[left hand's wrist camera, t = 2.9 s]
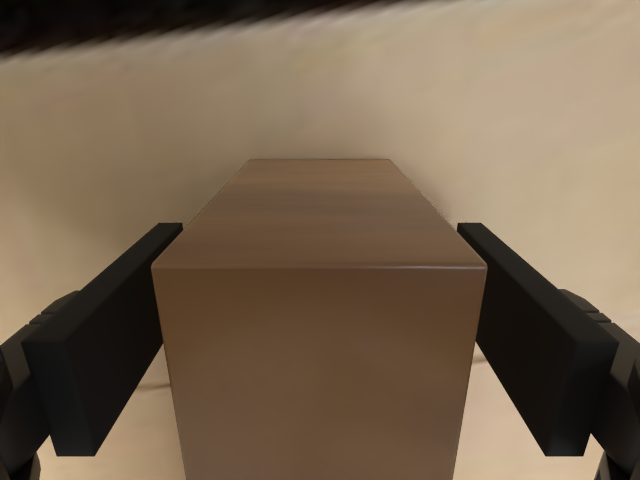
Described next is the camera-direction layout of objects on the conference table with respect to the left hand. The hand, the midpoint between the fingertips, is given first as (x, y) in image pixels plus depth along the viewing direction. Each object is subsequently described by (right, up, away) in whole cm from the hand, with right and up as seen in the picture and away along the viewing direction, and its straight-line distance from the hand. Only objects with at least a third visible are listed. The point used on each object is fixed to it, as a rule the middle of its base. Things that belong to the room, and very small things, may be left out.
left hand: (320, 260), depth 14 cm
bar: (0, -7, +4) cm, 8 cm away
